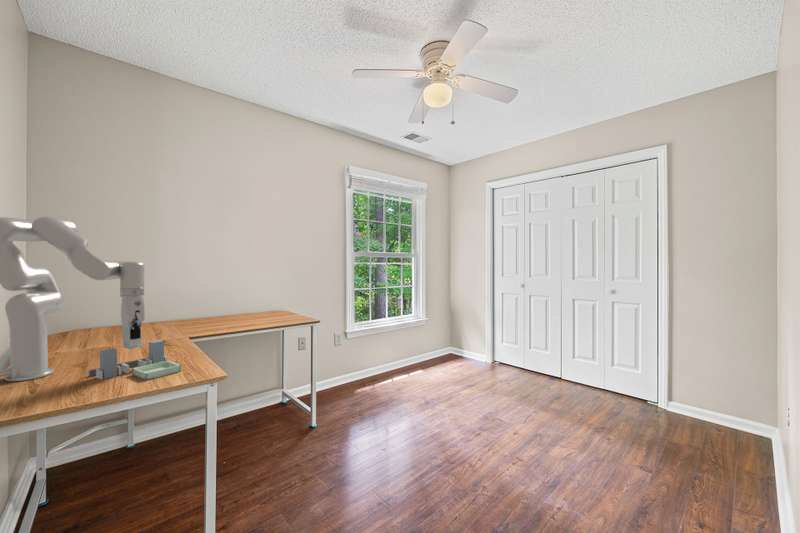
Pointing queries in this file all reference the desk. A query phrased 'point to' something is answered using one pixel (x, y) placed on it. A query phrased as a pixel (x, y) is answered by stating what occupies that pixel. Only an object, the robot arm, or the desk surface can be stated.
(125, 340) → the skincare box
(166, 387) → the desk surface
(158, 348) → the fuse right
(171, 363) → the tray
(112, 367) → the block
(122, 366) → the clip block
